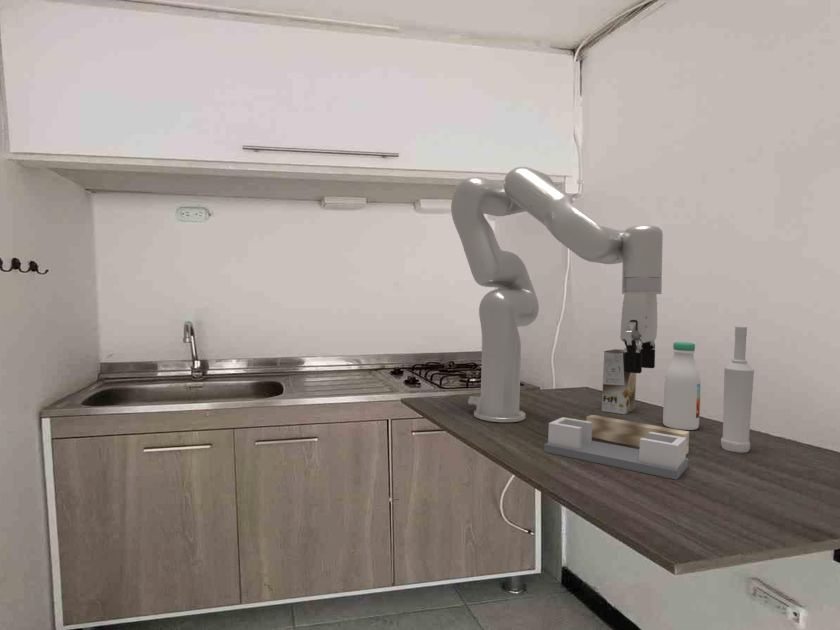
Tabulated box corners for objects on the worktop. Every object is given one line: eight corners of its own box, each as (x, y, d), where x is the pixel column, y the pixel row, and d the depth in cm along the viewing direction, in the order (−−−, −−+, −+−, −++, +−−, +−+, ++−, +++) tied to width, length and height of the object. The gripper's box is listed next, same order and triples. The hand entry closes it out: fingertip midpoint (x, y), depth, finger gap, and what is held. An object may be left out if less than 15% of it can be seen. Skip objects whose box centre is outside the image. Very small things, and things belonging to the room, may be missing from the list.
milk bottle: (690, 432, 124) (694, 345, 123) (656, 425, 130) (660, 342, 129) (704, 427, 129) (708, 343, 128) (671, 421, 135) (674, 340, 134)
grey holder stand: (544, 451, 107) (544, 423, 106) (562, 442, 114) (563, 416, 113) (676, 479, 92) (678, 447, 92) (688, 466, 99) (689, 436, 99)
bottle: (754, 454, 108) (760, 328, 107) (725, 451, 109) (731, 327, 108) (744, 446, 113) (750, 326, 112) (717, 444, 114) (722, 325, 113)
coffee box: (626, 415, 140) (628, 353, 140) (601, 411, 144) (603, 351, 143) (635, 409, 148) (637, 350, 147) (611, 405, 152) (613, 348, 151)
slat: (585, 437, 119) (586, 416, 119) (591, 434, 121) (592, 414, 121) (683, 457, 106) (684, 434, 106) (688, 454, 108) (689, 431, 108)
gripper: (635, 287, 121) (633, 364, 122) (609, 286, 107) (607, 373, 108) (671, 287, 117) (669, 367, 117) (649, 286, 103) (647, 376, 103)
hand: (639, 370), depth 113 cm, fingers open, 9 cm apart
